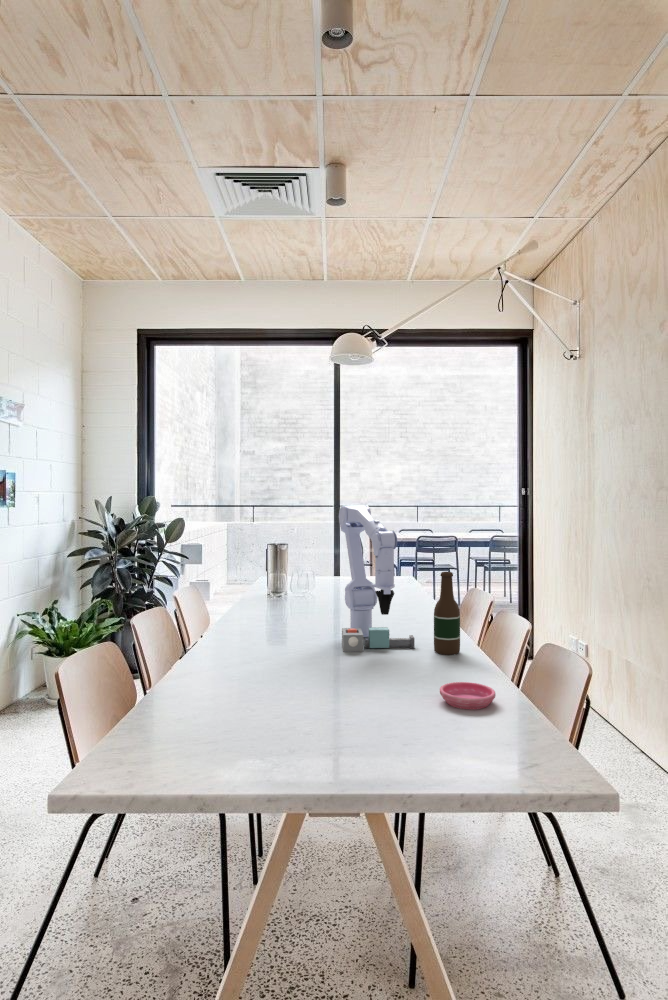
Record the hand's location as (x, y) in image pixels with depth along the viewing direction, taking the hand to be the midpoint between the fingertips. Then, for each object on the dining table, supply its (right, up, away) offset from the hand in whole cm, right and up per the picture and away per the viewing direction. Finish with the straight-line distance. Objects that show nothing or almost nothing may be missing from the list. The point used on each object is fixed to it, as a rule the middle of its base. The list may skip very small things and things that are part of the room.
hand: (384, 614), depth 197 cm
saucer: (+15, -11, -52) cm, 55 cm away
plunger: (-10, -9, +1) cm, 13 cm away
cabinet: (-10, -10, +1) cm, 14 cm away
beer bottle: (+18, -11, -5) cm, 22 cm away
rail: (+1, -10, +1) cm, 11 cm away
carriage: (-2, -10, +1) cm, 11 cm away
